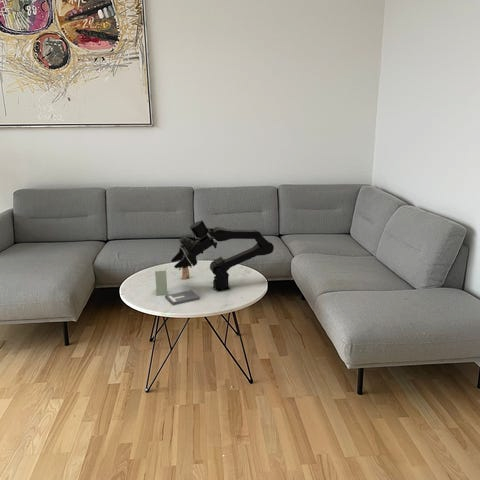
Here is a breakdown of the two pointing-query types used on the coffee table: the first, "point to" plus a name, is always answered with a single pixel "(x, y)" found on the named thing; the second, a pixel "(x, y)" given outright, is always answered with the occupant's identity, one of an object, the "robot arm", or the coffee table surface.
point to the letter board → (182, 297)
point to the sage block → (161, 281)
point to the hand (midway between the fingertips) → (173, 264)
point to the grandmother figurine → (185, 272)
